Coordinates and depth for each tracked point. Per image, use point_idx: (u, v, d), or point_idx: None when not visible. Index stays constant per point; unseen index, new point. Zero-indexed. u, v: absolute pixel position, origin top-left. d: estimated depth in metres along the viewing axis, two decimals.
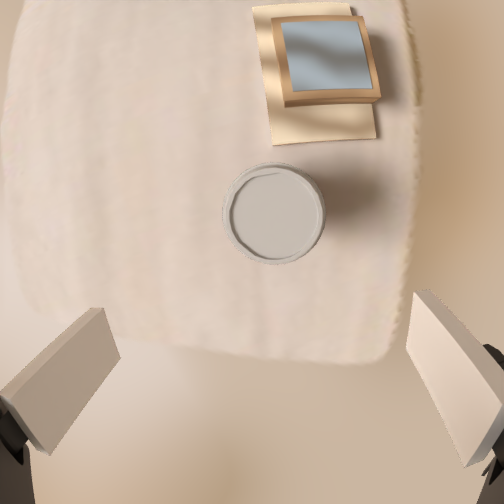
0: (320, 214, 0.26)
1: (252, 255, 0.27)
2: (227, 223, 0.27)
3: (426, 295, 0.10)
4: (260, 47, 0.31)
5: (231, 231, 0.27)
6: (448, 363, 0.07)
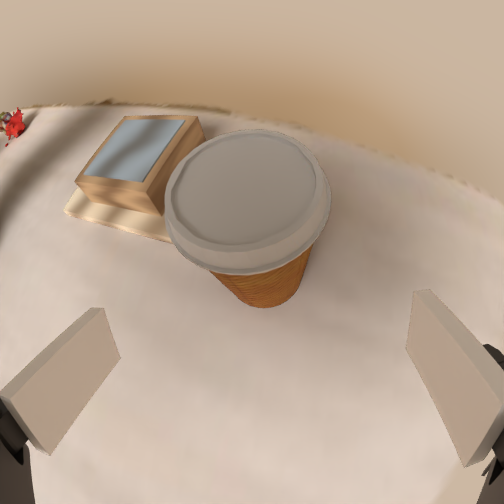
0: (266, 131, 0.17)
1: (290, 229, 0.14)
2: (212, 247, 0.14)
3: (426, 295, 0.10)
4: (96, 216, 0.31)
5: (229, 246, 0.14)
6: (448, 363, 0.07)
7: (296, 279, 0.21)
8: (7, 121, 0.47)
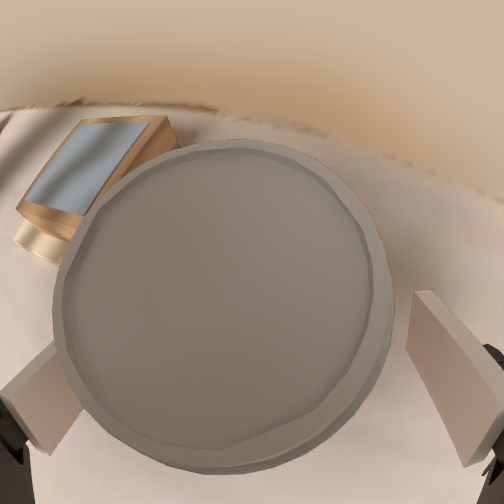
0: (258, 144, 0.08)
1: (307, 420, 0.05)
2: (131, 441, 0.05)
3: (426, 295, 0.10)
4: (44, 253, 0.22)
5: (165, 447, 0.05)
6: (448, 363, 0.07)
7: None
8: None
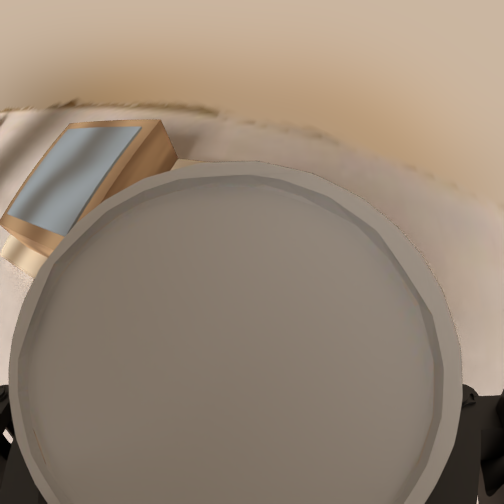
0: (275, 171, 0.06)
1: None
2: None
3: None
4: (29, 272, 0.19)
5: None
6: None
7: None
8: None
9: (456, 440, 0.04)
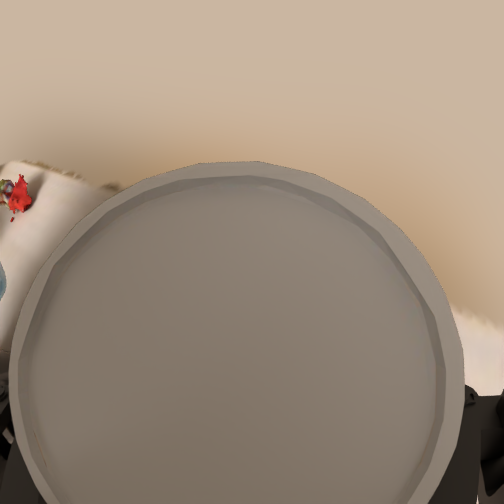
0: (277, 171, 0.06)
1: None
2: None
3: None
4: None
5: None
6: None
7: None
8: (9, 193, 0.44)
9: None
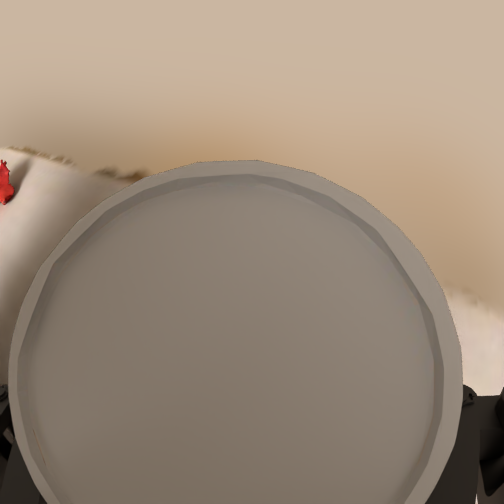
0: (276, 169, 0.06)
1: None
2: None
3: None
4: None
5: None
6: None
7: None
8: None
9: (455, 440, 0.04)
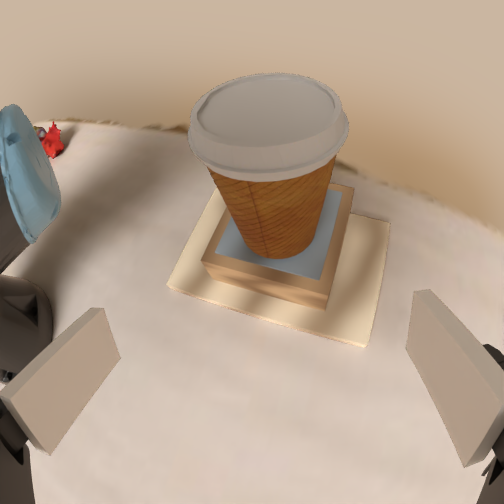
0: (283, 74, 0.17)
1: (317, 130, 0.13)
2: (243, 145, 0.13)
3: (426, 295, 0.10)
4: (227, 302, 0.28)
5: (261, 143, 0.13)
6: (448, 363, 0.07)
7: (315, 216, 0.20)
8: (41, 138, 0.45)
9: None
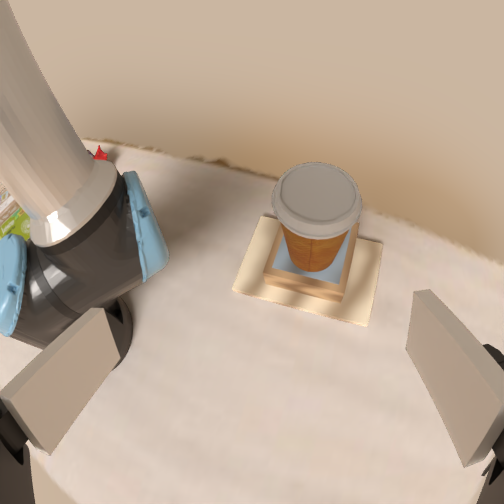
0: (323, 163, 0.31)
1: (348, 213, 0.28)
2: (313, 223, 0.28)
3: (426, 295, 0.10)
4: (277, 299, 0.42)
5: (322, 222, 0.27)
6: (448, 363, 0.07)
7: (339, 248, 0.35)
8: None
9: None
